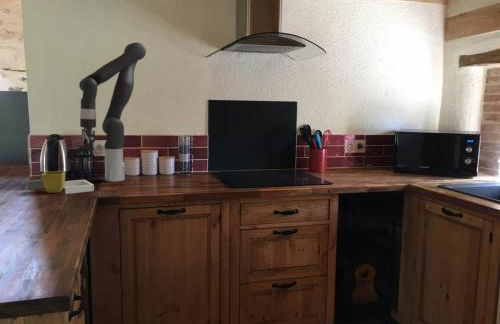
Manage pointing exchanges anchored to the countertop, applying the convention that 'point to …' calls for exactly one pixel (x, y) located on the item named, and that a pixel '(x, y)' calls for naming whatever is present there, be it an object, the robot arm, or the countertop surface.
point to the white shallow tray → (78, 186)
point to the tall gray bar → (34, 184)
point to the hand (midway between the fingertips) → (88, 149)
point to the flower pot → (53, 181)
